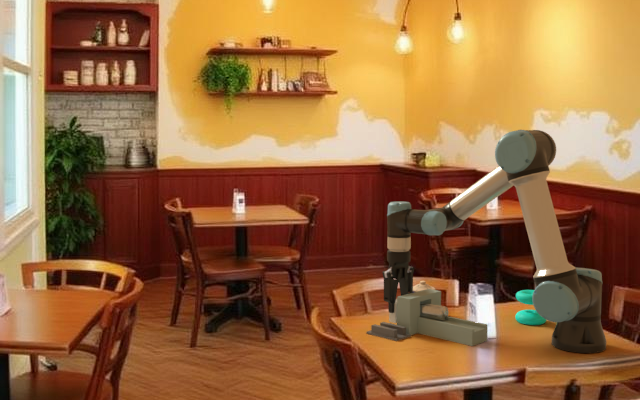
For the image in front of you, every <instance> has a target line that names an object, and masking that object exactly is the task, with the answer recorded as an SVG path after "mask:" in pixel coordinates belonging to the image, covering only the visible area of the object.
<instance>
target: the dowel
mask: <svg viewBox="0 0 640 400" xmlns="http://www.w3.org/2000/svg"><path fill="white" fill-rule="evenodd" d="M395 303H397V298H396V301H395ZM448 316H449V308H448V307H447V306H445V305H441V306H439V305H433V304H426V303H420V317H425V318H430V319H436V320H442V321H445V320H446V319H447V317H448Z"/></svg>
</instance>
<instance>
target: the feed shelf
mask: <svg viewBox="0 0 640 400" xmlns="http://www.w3.org/2000/svg"><path fill="white" fill-rule="evenodd" d="M475 322H476V321H472V320H468V319H465V318H464V319H463V318H458V317H453V316H449V315H448V317H447V319H446V320H445V321H442V320H436V319H430V318H423V317H418V333H417V334H420V335H422V336H423V335H425V336H428V337H433V338H436V339H441V340H445V341H449V342H454V343H458V344H462V345H467V346H470V347H474V346H476V345H479V344H482V343H484V341H485V342H488V324H487V323H481V322H478V323H475Z"/></svg>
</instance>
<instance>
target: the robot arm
mask: <svg viewBox="0 0 640 400" xmlns="http://www.w3.org/2000/svg"><path fill="white" fill-rule="evenodd" d="M495 146H496V147H495V149H494V157H495V158H494V159H495V161H496V164H497V166H496V167H495V168H494V169H492V170H491V171H489V172H488V173H487V174H485V175H484V176H483V177H482V178H479V179H478V180H476V182H475V183H473V184H472V185H470V186H469V187H468V188H466V189H465V190H464V191H462V192H460V194H458V195H457V196H456V197H454V198H453V199H452V200H450V201H449V202H448V203H446V204H444V206H441V207H435V208H432V209H431V208H430V209H414V208H412V204H411V202H409V201H390V202H389V203H388V204H387V214H386V219H387V222H386V223H387V226H386V227H387V235H386V236H387V242H386V243H387V246H386V247H387V251H386V260H387V262H388V269H387V270H383V271H382V277H383V302H386V303H387V305H388V306H387V307H388V323H391V324H397V303H395V301H396V299H397V295H398V294H397V293H398V289H399V290H400V291H399V292H400V296H402V295H406V294H410V293H413V286H414V285H413V284H414V271H415V267H414V266H410V265H409V263H410V262H411V252H412V251H410V250H411V247H412V246H411V245H412V241H411V240H412V239H411V237H412V236H411V233H412V234H418V235H419V234H420V235H421V234H422V235H426V236H427V235H428V236H441V235H443V233H444V232H445V231H452V230H453V231H454V230H455V229H457V228H460V227H461V226H462V225H463V224H464V221H465V220H467V219H468V218H469V217H471V216H473V215H474V214H475V213H476V212H478V211H479V210H482V208H484V207H485V206H487V205H488V204H489V203H491V202H492V201H493V200H495V199H497V198H498V197H499V196H500V195H502V194H504V193H506V192H507V191H508V190H509V189H511V188H512V187H513V186H514V187H515V190H516V193H517V198H518V202H519V206H520V210H521V213H522V217H523V221H524V225H525V230H526V232H527V236H528V240H529V243H530V244H529V245H530V248H531V251H532V252H531V253H532V256H533V260H534V263H535V267H536V271H535V272H534V275H532V277H533V282H534V285H535V289H533V290H534V292H533V296H532V301H533V305H532V306H533V307H534V310H536V311H537V312H538V314H539V315H540V316H541V317H543V318H544V319H546V321H548V322H551V323H556V324H555V325H554V326H555V327H554V329H553V331H552V334H551V345H552V346H553V347H554V348H556V349H558V350H561V351H566V352H571V353H581V354H594V353H601V352H603V351H605V350H607V338H606V335H605V331H604V329H603V326H602V322H601V321H602V320H601V319H602V318H601V315H602V295H603V294H602V293H603V277H602V276H603V274H602V271H600V270H597V269H593V268H587V267H586V268H585V267H576V266H574V265H572V264H571V263H569V261H568V257H567V253H566V249H565V246H564V242H563V237H562V233H561V230H560V227H559V223H558V219H557V216H556V212H555V208H554V204H553V200H552V196H551V193H550V188H549V185H548V181H547V178H548V176H549V175H550V173H551V169H550V167H549V166H550V165H551V164H552V163H553V161H554V159H555V158H556V154H557V146H556V142H555V140H554V138H553V137H552V136H551V135H550V134H548V133H547V132H545V131H543V130H539V129H532V130H529V129H517V130H512V131H508V132H507V133H504V134H503V135H502V136H501V138H500V139H499V140H498V141H497V144H496V145H495Z"/></svg>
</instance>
